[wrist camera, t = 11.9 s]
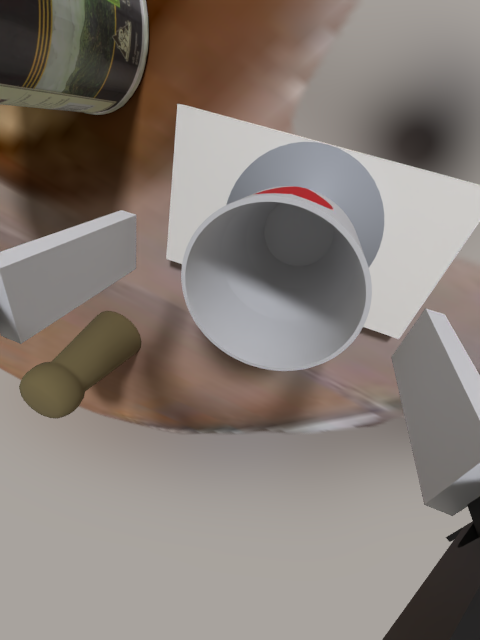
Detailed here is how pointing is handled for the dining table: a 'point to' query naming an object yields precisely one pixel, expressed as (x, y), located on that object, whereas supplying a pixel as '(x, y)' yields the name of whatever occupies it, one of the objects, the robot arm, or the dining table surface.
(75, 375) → the olive peg figure
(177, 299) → the dining table surface
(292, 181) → the board
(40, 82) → the coffee can
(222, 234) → the cup
